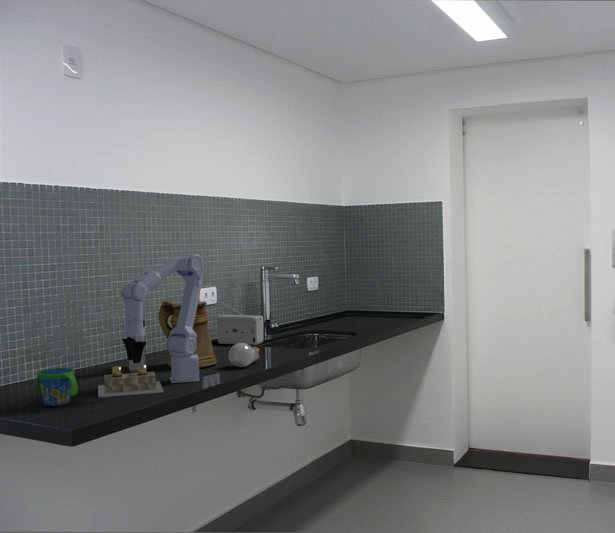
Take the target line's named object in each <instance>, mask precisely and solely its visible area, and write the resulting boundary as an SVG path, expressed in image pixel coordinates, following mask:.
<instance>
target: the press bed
mask: <svg viewBox="0 0 615 533" xmlns="http://www.w3.org/2000/svg"><path fill="white" fill-rule="evenodd" d="M97 387H98V388H97V395H98V398H109V397H121V396H122V397H123V396H134V395H149V394H159V393H164V389H163V386H162V384H161V382H160V381H159V380H158V381H156V388H145V389H132V390H119V391H106V392H105V384H102V385H99V384H98V386H97Z"/></svg>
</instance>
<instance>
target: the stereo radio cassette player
mask: <svg viewBox="0 0 615 533" xmlns="http://www.w3.org/2000/svg"><path fill="white" fill-rule="evenodd" d="M219 303H221V304H223V305H224V306H226V307H227V308H230V309H231V310H232V311H234V312H236V313H238V314H222V315H216V320H217V321H216V322H217V342H218V344H220V345H222V344H223V345H235V344H237V343H246V344H248V345H249V346H253V347H256V346H257V345H260V344H263V342H264V317H263V315H257V314H255V315H253V314H251V315H250V314H248V315H247V314H243V313H241V312H239V311H238V310H236V309H234V308H232V307H231V306H229V305H227V304H225V303H223V302H222V301H220V300H219Z"/></svg>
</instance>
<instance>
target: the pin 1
mask: <svg viewBox="0 0 615 533" xmlns="http://www.w3.org/2000/svg"><path fill="white" fill-rule="evenodd" d="M111 368H112V371H111V372H112V375H113V377H122V375H121V374H122V366H120V365H118V366H112V367H111Z"/></svg>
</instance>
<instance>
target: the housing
mask: <svg viewBox="0 0 615 533" xmlns="http://www.w3.org/2000/svg"><path fill="white" fill-rule="evenodd" d="M121 375H122V377H113V374H104V376H103V378H104V379H103V380H104V383H103V385H105V392H106V391H119V390H132V389H145V388H156V377H157V376H156V374H155V371H147V375H141V376H138V373H132V372H129V373H121Z"/></svg>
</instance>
